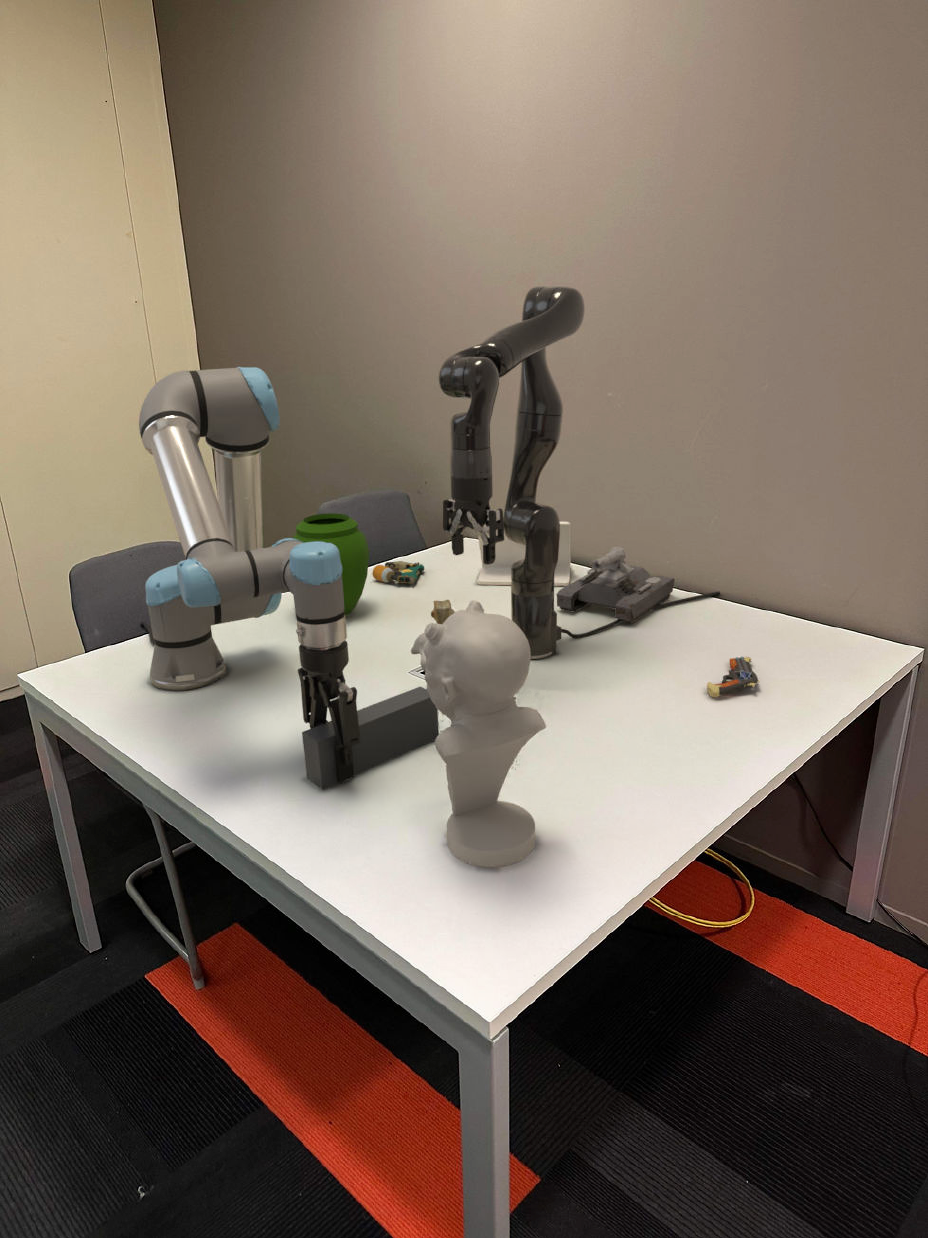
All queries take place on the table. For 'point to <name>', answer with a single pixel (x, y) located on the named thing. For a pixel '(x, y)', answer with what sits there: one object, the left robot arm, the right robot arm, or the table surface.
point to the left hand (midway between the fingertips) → (335, 771)
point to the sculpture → (441, 611)
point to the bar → (374, 735)
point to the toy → (616, 588)
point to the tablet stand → (514, 552)
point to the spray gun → (398, 572)
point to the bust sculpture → (481, 729)
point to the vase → (341, 550)
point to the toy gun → (735, 678)
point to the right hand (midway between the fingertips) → (473, 558)
